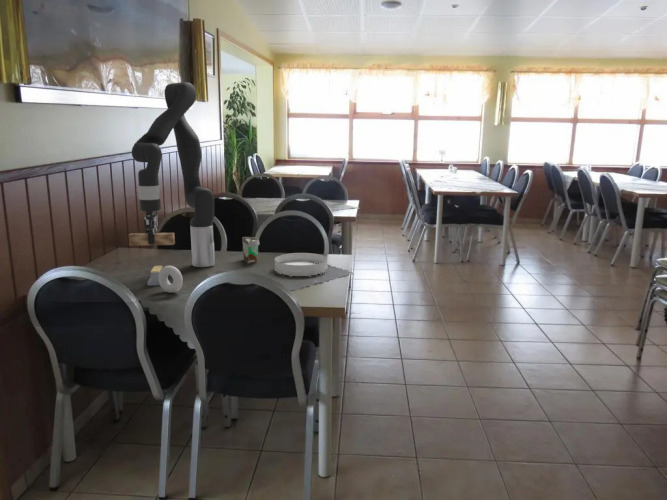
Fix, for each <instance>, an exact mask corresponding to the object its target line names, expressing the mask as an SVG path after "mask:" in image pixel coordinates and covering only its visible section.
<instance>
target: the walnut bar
mask: <svg viewBox="0 0 667 500" xmlns="http://www.w3.org/2000/svg"><path fill="white" fill-rule="evenodd" d="M175 235H176V234H175V232H156V233H154V240H155V243H154V244H148V235H147V234H146V232H135V233H133V232H132V233H129V234H128V245H129V246H131V247H132V246H135V247H136V246H174V245H175V244H176V240H175V239H176V237H175Z"/></svg>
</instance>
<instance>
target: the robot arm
mask: <svg viewBox="0 0 667 500" xmlns="http://www.w3.org/2000/svg"><path fill="white" fill-rule="evenodd" d="M164 100H165V103H166V107H167V109H166V110H165V111H163V112H162V113H160V114H159V115H158V117H156V118H155V120H153V122H152V124H151V126H149V128H148V130H147V132H145V133H144V134H143V135H141V137H140V138H138V140H136V142H135V143H134V144H133V146H132V148H131V157H132V158H133V160H134V161H135V162H138V163H146V168H143V169H140V170H138V173H137V179H138V180H137V181H138V201H139V202H138V203H139V205H138V206H139V211H141V212H145V215H144V219H143V225H144V230H145V233H146V234H147V235H148V244H154V243H155V240H154V233H158V229H159V227H158V226H159V225H158V224H159V222H158V221H159V220H158V219H159V214H157V213H156V212H158V211H161V210H162V205H161V204H162V203H161V202H162V201H161V191H160V186H159V185H160V184H159V182H160V181H159V180H160V179H159V173H160V172H159V171H160V167H161V163H162V157H163V153H162V149H161V147H160V146H162V145H164V143H165V142H166V141H167V139H168V138H169V135H170V133H171V132H172V130H173V134H174V138H175V144H176V148H177V153H178V158H179V163H180V169H181V173H182V179H183V189H184V198H185V202H186V205H187V206H188V207H190V208H191V209H194V216H193V217H191V219H190V221H189V225H190V226H189V227H190V242H191V263H192V264H191V265H192V266H193V267H195V268H207V267H208V268H209V267H214V266H215V263H216V259H215V257H216V256H215V255H216V254H215V241H214V229H213V228H214V225H213V222H214V218H215V197H214V193H213V192H212V190H211V189H209V188H205V187H202V183H201V180H200V179H201V178H200V167H201V162H202V156H203V154H202V147H201V144H200V143H201V142H200V139H199V137H198V134H197V133H196V132H195V130H194V129H193V128H192V126H191V125H190V124H189V122H188V120H187V119H186V117H185V114H186V113H187V112H188V111H189V109H190V108H191V107H193V104H194V103H195V102H196V100H197V91H196V88H195V86H194V85H193V84H192V83H190V82H189V81H188V82H187V81H186V82H185V81H181V82H172V83H168V84H167V85H166V86H165V88H164Z"/></svg>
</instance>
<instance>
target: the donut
mask: <svg viewBox="0 0 667 500" xmlns="http://www.w3.org/2000/svg"><path fill="white" fill-rule="evenodd" d="M169 276H170V277H171V278H172V283H171V281H170V280H169ZM183 278H184V277H183V275H182V273H181V271H180V270H179V269H178V268H177V267H176V266H173V265H165V266H164V267H163V268H162V269H161V270H160V272H159V275H158V280H159V284H160V285H159V286H160V288H162V290H163V291H164V292H167V293H170V294H173V293H177V292H179V291H180V290H181V288H182V286H183V282H184V279H183Z"/></svg>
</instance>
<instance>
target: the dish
mask: <svg viewBox="0 0 667 500" xmlns="http://www.w3.org/2000/svg"><path fill="white" fill-rule="evenodd" d="M308 261H312V262H313V261H314V262H315V263H319V264H315V263H314V264H313V263H311V262H310V263H309V262H308ZM326 269H327V270H328V258H327V256H325V255H323V254H318V253H312V252H311V253H310V252H293V253H292V252H291V253H285V254H281V255H280V254H279V255H278V256H276V257H275V258H274V272H275V271H277V272H279V273H283V274H292V275H310V274H316V273H320V272H323V271H325V270H326Z"/></svg>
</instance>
